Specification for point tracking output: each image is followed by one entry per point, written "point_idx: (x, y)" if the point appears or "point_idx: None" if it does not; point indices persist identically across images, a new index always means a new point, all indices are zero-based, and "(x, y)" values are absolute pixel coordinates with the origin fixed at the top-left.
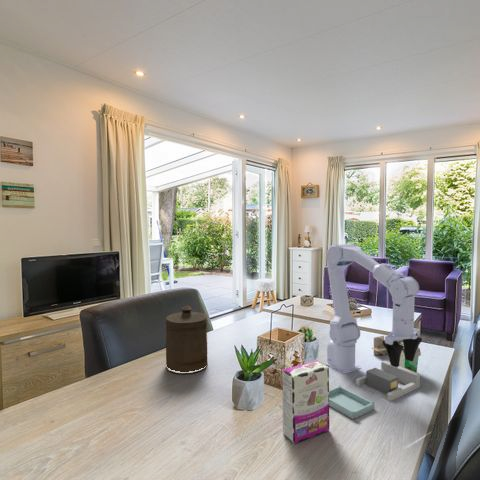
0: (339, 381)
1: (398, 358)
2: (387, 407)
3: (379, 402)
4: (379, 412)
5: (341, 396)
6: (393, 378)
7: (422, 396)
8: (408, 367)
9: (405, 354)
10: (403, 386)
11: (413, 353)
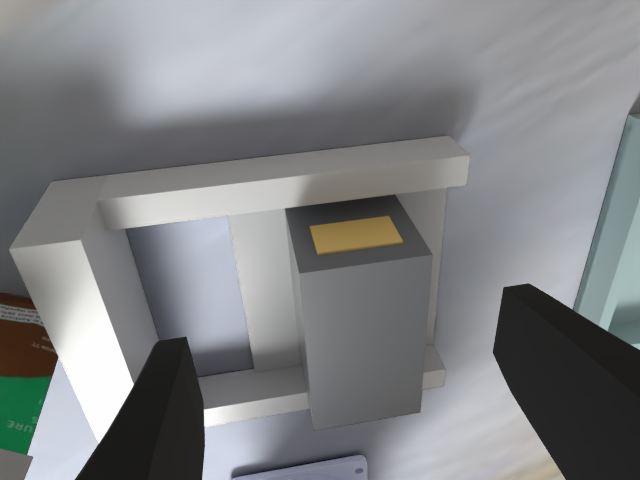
0: (462, 408)
1: (637, 356)
2: (536, 95)
3: (513, 164)
4: (635, 76)
5: (624, 293)
6: (363, 269)
7: (155, 75)
8: (11, 371)
9: (201, 458)
10: (257, 206)
11: (163, 427)
